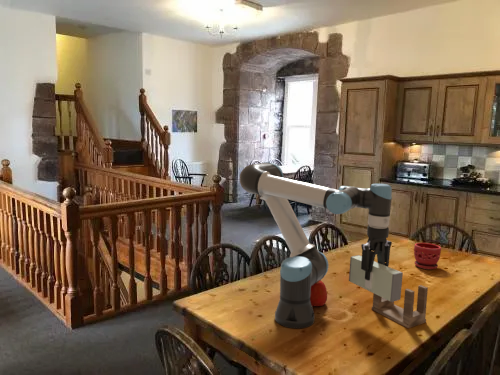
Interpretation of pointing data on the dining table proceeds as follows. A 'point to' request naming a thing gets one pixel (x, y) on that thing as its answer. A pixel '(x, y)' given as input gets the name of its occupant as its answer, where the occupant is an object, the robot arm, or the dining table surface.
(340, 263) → the dining table surface
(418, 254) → the plant pot
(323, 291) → the apple
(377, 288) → the cream rectangular block
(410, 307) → the u-shaped post stand
